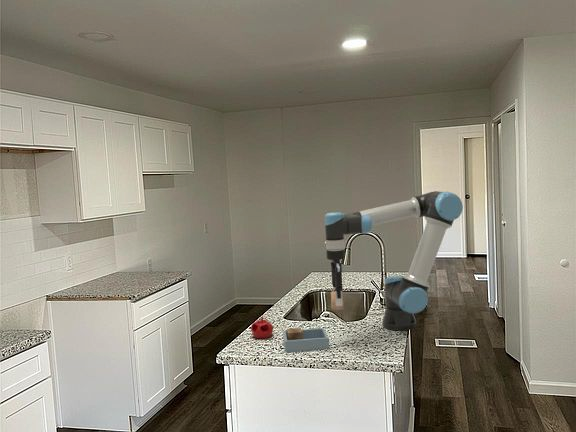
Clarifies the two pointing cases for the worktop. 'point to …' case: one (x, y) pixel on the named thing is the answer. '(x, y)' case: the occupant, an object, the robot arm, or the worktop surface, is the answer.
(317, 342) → the tote
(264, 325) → the pomegranate
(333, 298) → the terracotta cylinder
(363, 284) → the worktop surface
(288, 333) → the walnut cube
